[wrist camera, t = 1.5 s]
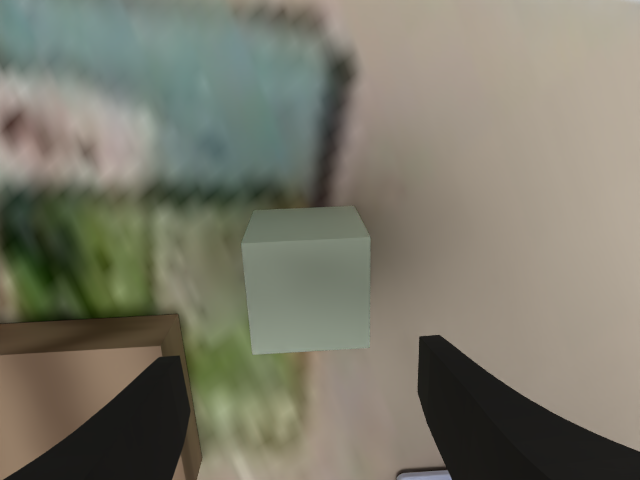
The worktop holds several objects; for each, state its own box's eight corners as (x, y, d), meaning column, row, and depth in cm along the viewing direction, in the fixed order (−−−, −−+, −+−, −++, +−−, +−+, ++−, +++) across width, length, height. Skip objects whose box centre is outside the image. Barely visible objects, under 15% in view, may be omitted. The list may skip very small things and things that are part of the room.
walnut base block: (178, 314, 22) (160, 345, 19) (202, 458, 26) (190, 503, 23) (-14, 324, 22) (-60, 358, 19) (35, 469, 25) (2, 517, 22)
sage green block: (354, 205, 21) (370, 237, 16) (354, 295, 23) (369, 347, 18) (253, 209, 21) (241, 243, 16) (261, 300, 22) (252, 354, 18)
